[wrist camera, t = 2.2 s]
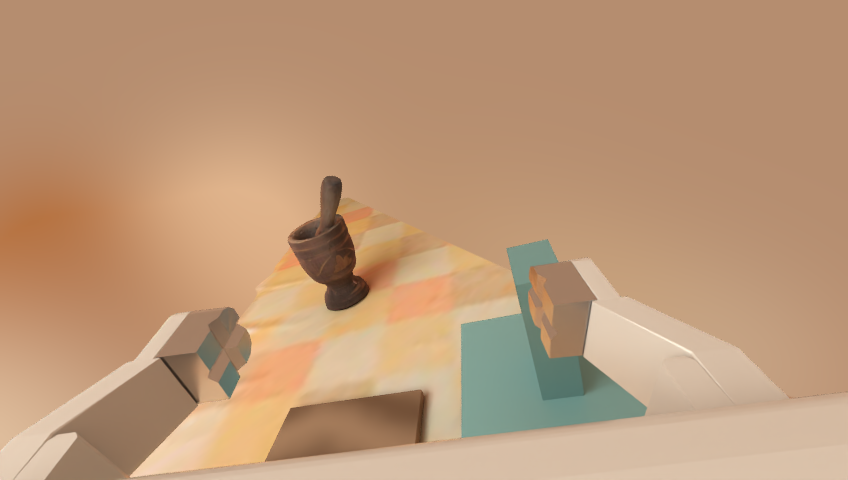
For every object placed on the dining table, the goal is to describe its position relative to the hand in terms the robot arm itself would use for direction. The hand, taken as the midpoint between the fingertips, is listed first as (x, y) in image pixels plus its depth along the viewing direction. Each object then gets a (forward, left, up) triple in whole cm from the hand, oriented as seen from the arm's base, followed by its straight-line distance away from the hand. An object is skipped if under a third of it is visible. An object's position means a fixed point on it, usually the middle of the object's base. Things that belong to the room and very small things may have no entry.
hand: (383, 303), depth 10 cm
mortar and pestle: (+38, +21, -23) cm, 49 cm away
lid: (+10, -5, -17) cm, 20 cm away
